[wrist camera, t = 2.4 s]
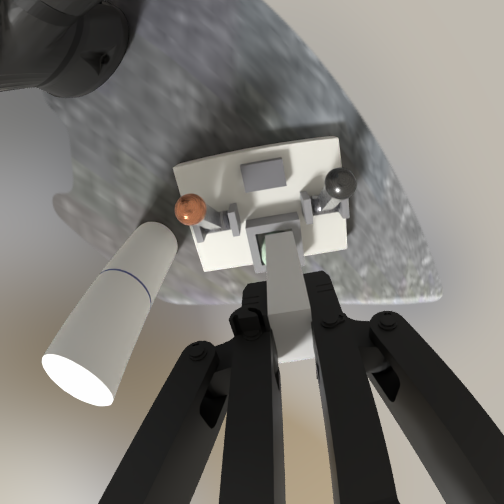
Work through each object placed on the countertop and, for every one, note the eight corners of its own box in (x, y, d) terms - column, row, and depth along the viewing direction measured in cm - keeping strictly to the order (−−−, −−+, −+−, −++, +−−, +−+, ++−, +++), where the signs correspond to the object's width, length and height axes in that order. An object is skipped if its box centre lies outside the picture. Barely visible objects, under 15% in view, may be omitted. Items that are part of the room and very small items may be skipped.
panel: (178, 163, 34) (164, 174, 29) (332, 135, 32) (346, 141, 27) (207, 262, 41) (200, 285, 36) (342, 240, 39) (353, 260, 34)
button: (259, 233, 34) (259, 245, 32) (288, 228, 34) (291, 239, 31) (264, 258, 36) (264, 271, 33) (292, 254, 36) (294, 266, 33)
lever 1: (206, 214, 35) (166, 194, 23) (229, 210, 35) (200, 186, 22) (209, 236, 35) (170, 226, 22) (232, 232, 35) (204, 219, 22)
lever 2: (308, 196, 34) (322, 165, 21) (332, 193, 33) (357, 161, 21) (313, 218, 34) (329, 198, 21) (336, 215, 33) (364, 193, 21)
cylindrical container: (179, 226, 38) (104, 372, 17) (175, 268, 42) (119, 413, 20) (133, 217, 38) (31, 342, 16) (133, 259, 41) (55, 389, 19)
